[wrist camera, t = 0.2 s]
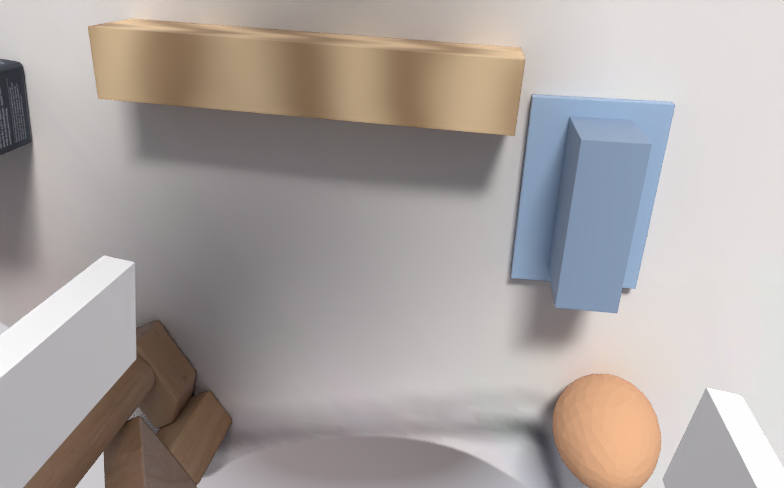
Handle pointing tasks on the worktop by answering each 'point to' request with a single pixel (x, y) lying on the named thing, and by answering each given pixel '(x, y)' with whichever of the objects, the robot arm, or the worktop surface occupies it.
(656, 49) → the worktop surface
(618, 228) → the fulcrum
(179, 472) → the wooden block
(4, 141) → the box
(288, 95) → the oak bar
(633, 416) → the egg
